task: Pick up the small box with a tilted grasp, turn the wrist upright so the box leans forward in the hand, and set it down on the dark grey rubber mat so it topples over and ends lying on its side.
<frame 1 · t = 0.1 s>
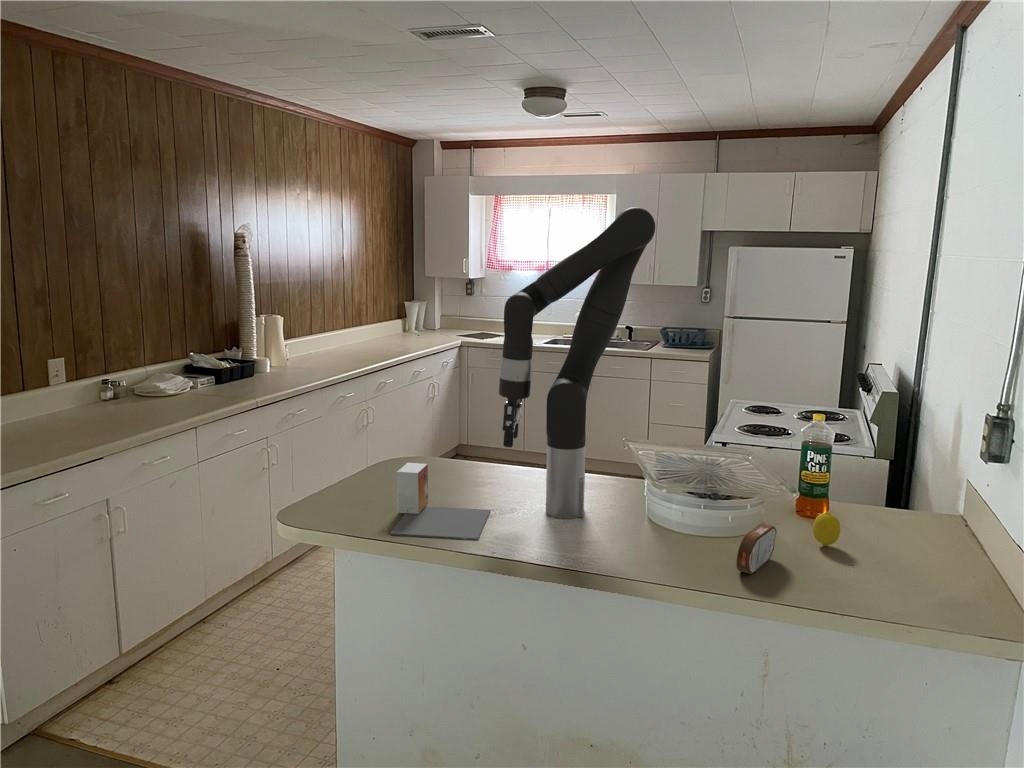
hand: (510, 442, 184), 17 cm above the worktop, tool pointing down, fingers open, 8 cm apart
small box: (413, 509, 187), on the worktop, touching mat
tin: (755, 567, 157), on the worktop
lemon: (824, 547, 167), on the worktop
mat: (442, 522, 179), on the worktop
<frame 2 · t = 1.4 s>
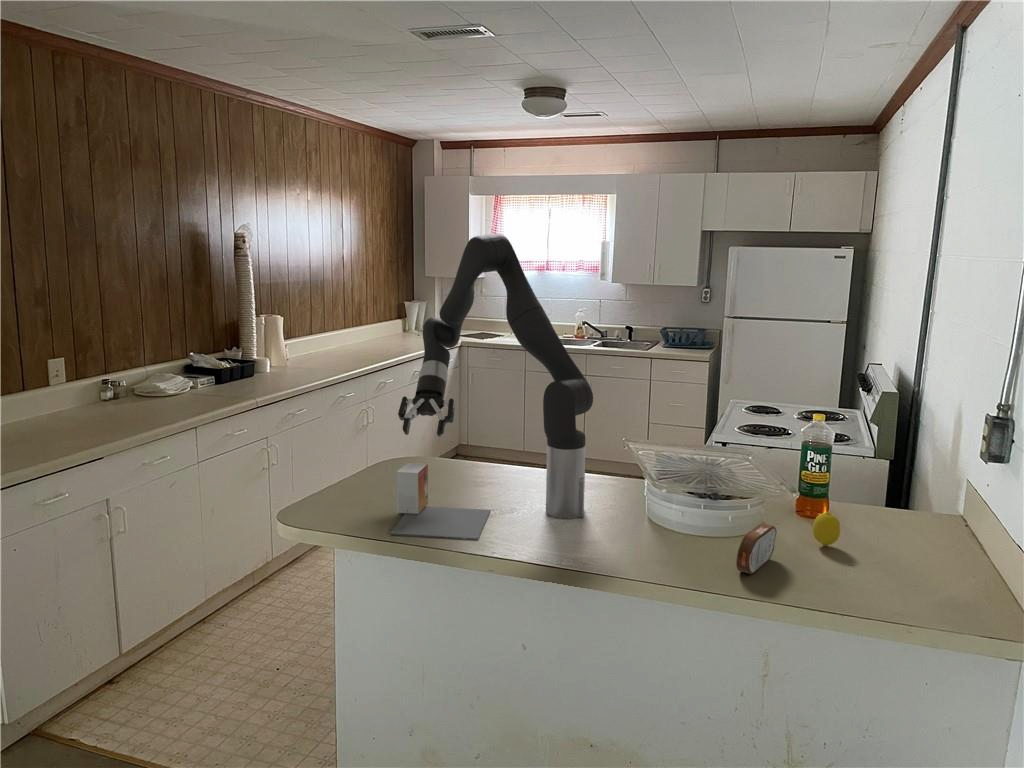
hand: (422, 434, 194), 16 cm above the worktop, tool tilted 45°, fingers open, 8 cm apart
nothing on the worktop moved.
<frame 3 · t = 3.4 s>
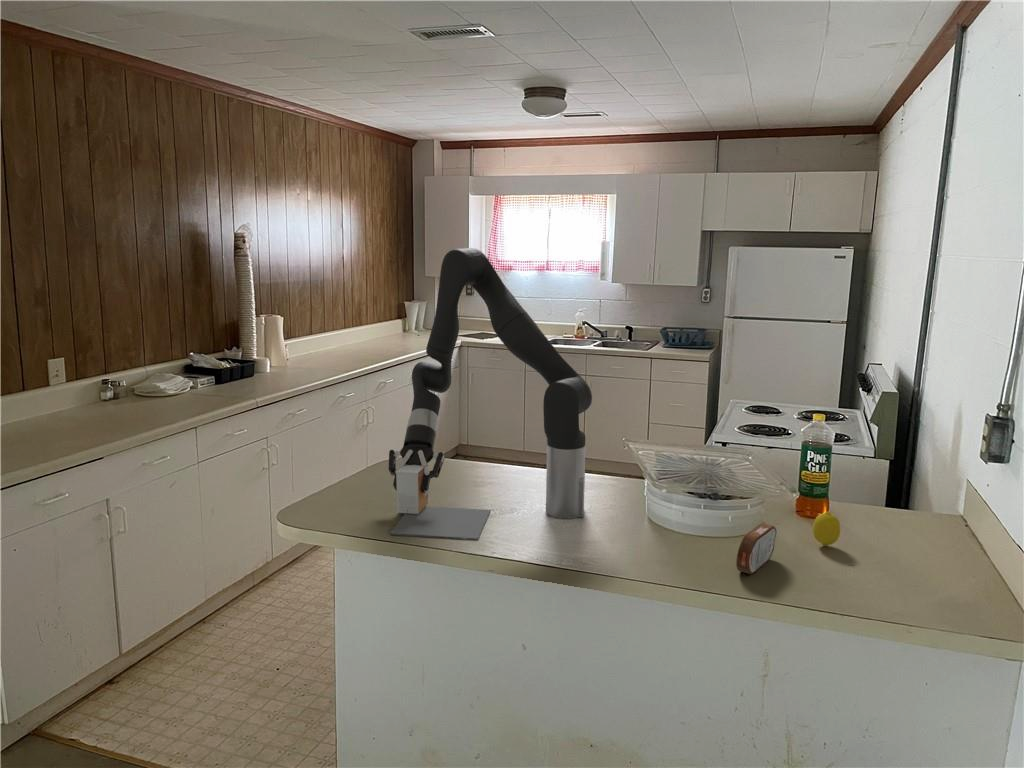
hand: (410, 490, 184), 6 cm above the worktop, tool tilted 45°, fingers closed on small box, 6 cm apart
small box: (413, 509, 187), on the worktop, touching gripper, mat
everything else where it was.
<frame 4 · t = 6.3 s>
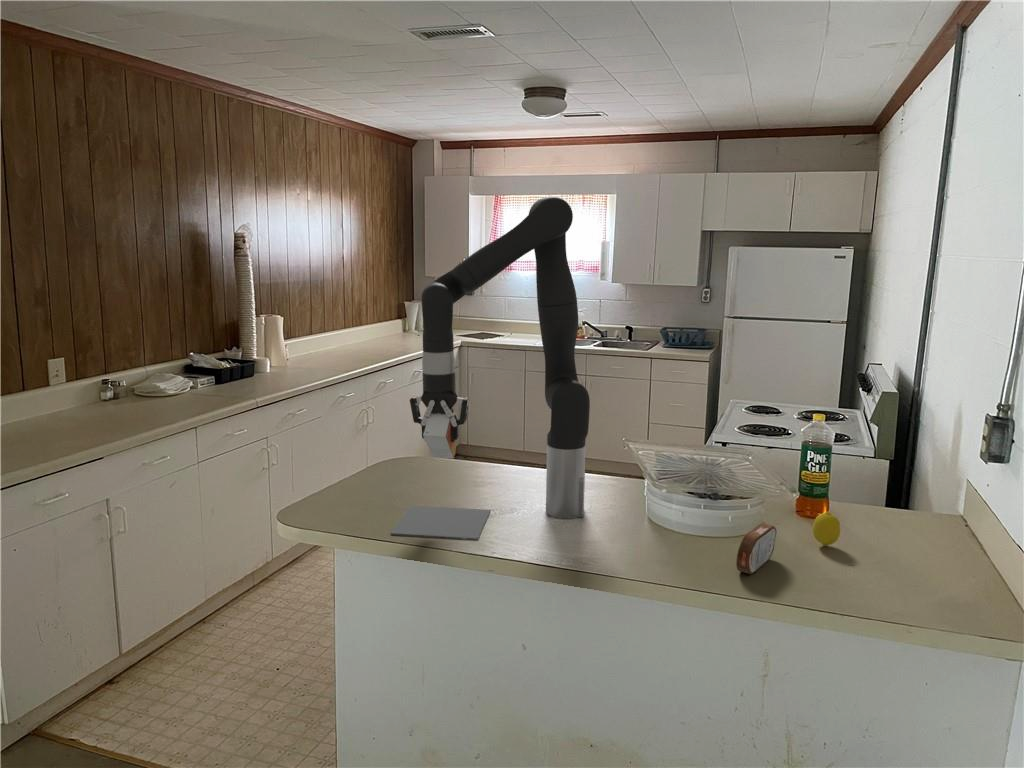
hand: (440, 440, 178), 19 cm above the worktop, tool pointing down, fingers closed on small box, 6 cm apart
small box: (446, 444, 184), point 17 cm above the worktop, touching gripper
everything else where it was.
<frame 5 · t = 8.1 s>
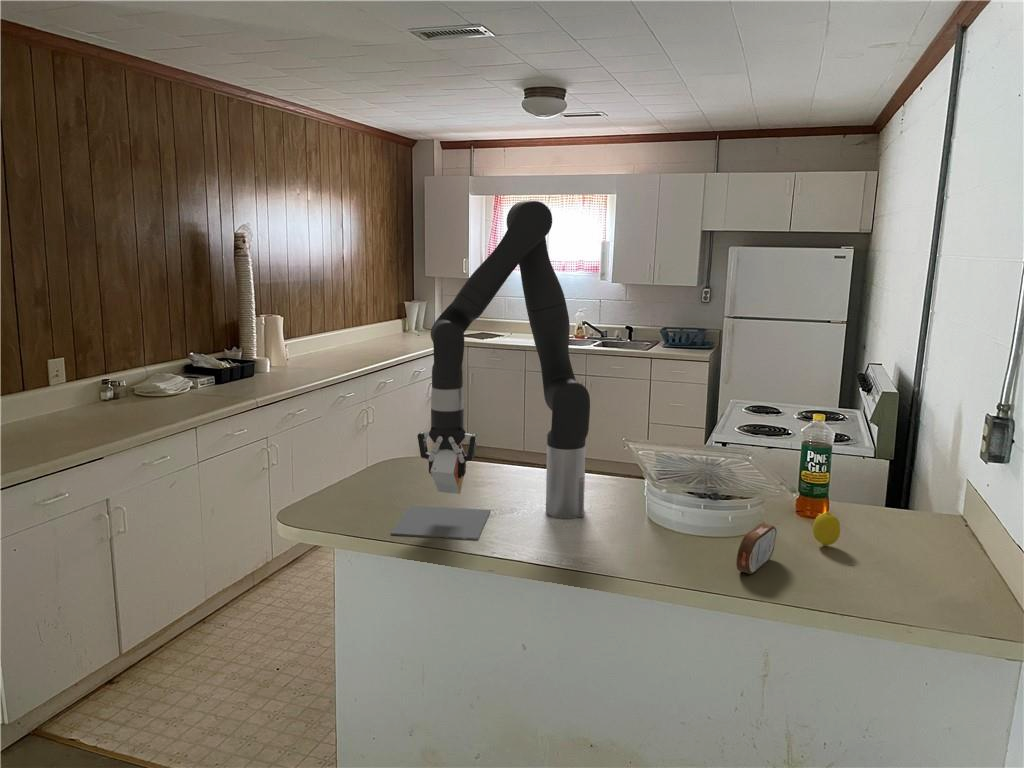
hand: (447, 476, 178), 11 cm above the worktop, tool pointing down, fingers closed on small box, 6 cm apart
small box: (452, 479, 184), point 9 cm above the worktop, touching gripper
everything else where it was.
when the fingers open (7 cm above the worktop, at t = 9.5 s): small box moves 3 cm, resting on mat.
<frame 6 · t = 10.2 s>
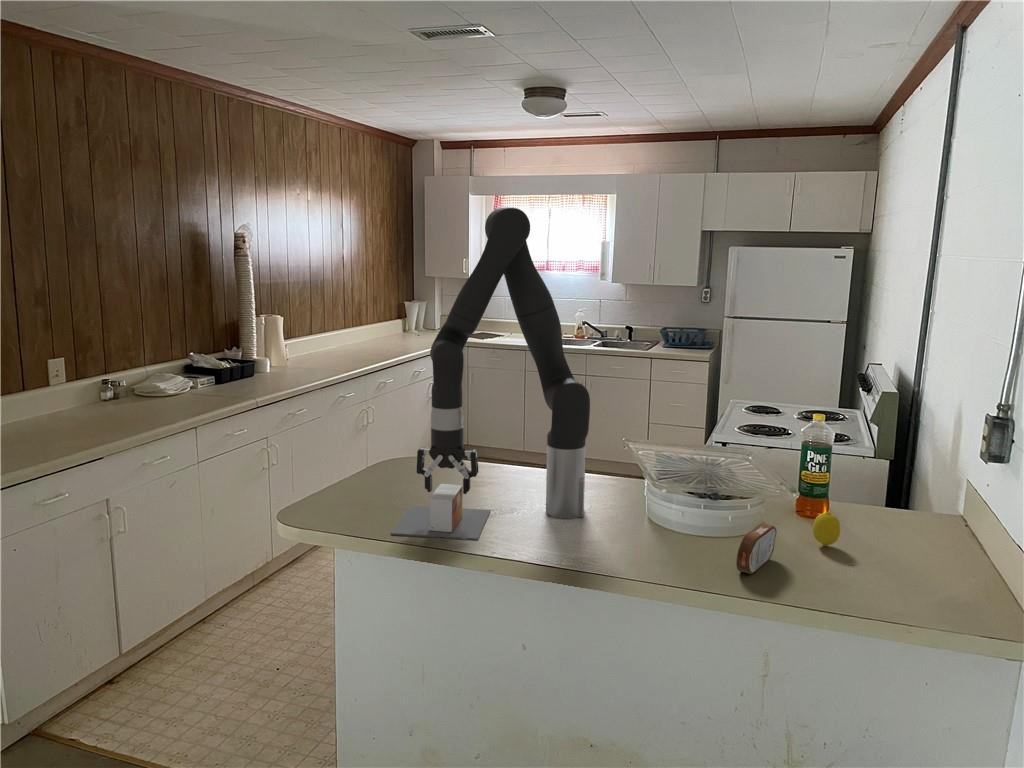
hand: (447, 492, 179), 7 cm above the worktop, tool pointing down, fingers open, 8 cm apart
small box: (451, 499, 182), point 4 cm above the worktop, touching mat
everything else where it was.
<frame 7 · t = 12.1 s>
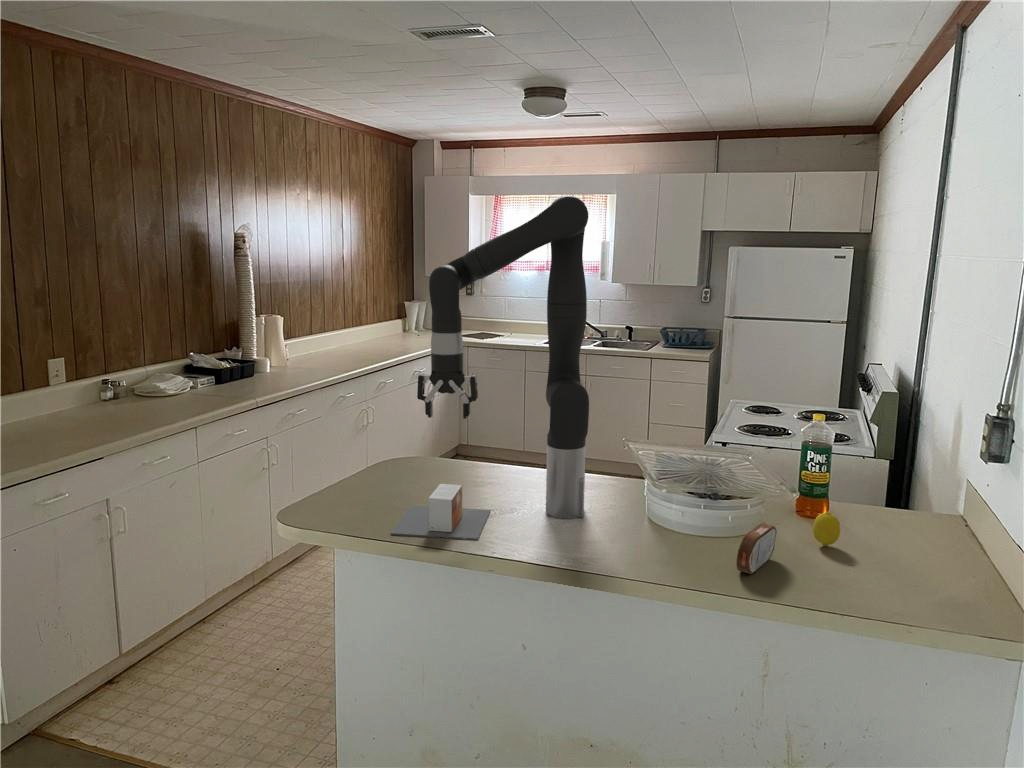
hand: (447, 417, 183), 23 cm above the worktop, tool pointing down, fingers open, 8 cm apart
nothing on the worktop moved.
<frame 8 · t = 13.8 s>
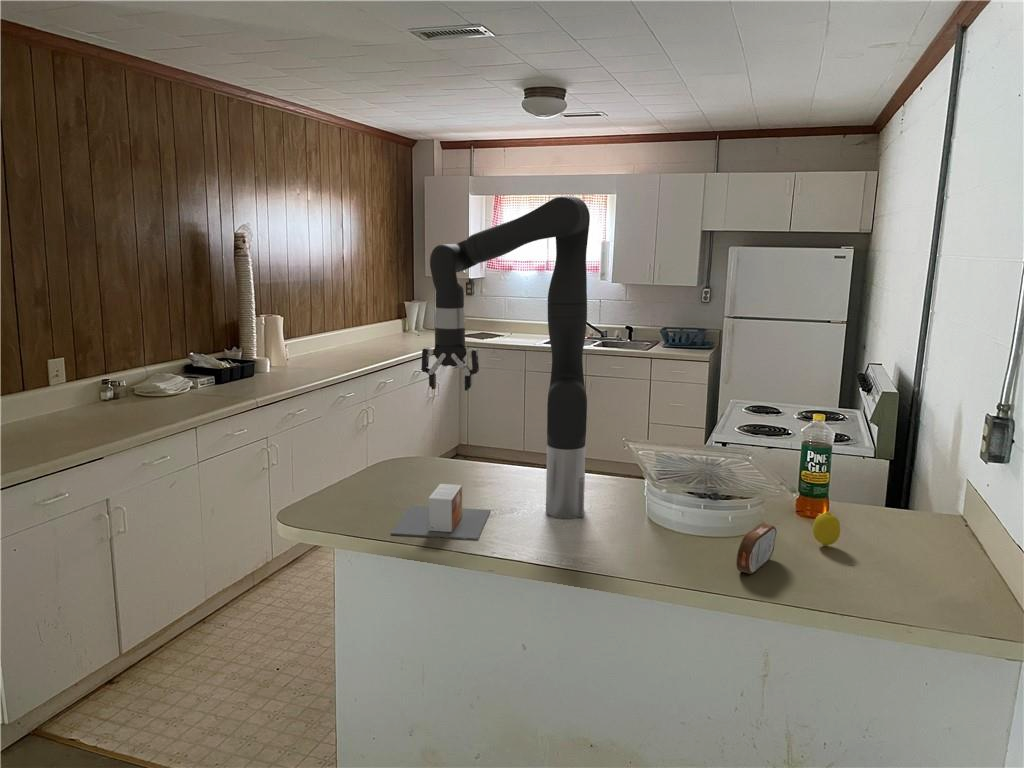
hand: (450, 389, 192), 28 cm above the worktop, tool pointing down, fingers open, 8 cm apart
nothing on the worktop moved.
at the end: small box tilted 91°; small box inside the target area (6.0 cm from its centre), point 4.4 cm above the worktop; the gripper is holding nothing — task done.
